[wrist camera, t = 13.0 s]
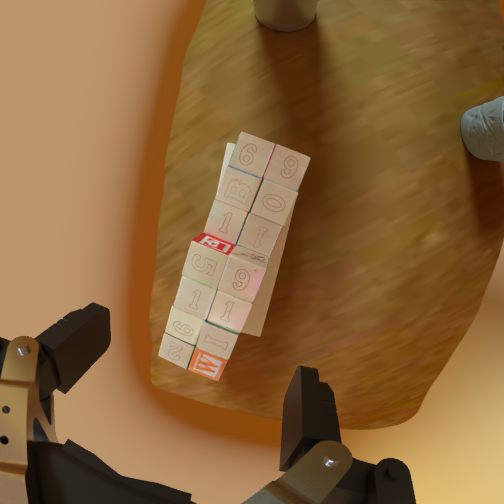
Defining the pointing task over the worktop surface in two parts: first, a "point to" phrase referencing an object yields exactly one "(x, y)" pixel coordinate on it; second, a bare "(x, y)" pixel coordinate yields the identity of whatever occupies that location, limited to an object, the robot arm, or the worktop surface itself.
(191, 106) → the worktop surface
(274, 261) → the block
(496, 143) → the blue cup
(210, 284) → the stack of blocks
